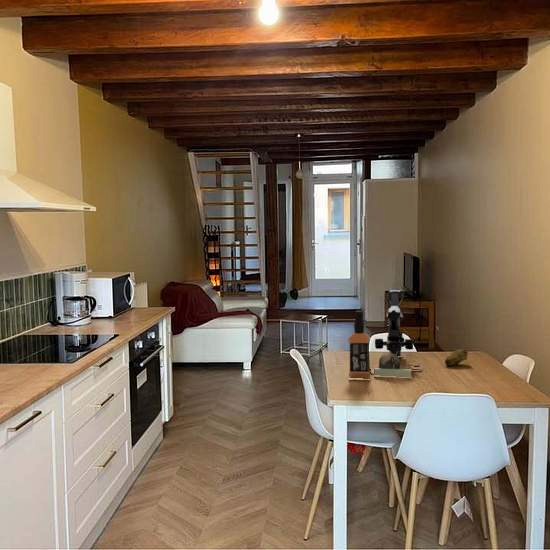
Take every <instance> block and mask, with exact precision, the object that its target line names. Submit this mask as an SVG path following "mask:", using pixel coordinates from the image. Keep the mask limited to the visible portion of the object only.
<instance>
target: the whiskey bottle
mask: <svg viewBox="0 0 550 550" xmlns="http://www.w3.org/2000/svg"><path fill="white" fill-rule="evenodd" d="M363 312H364V311H362V310H355V311H354V319H355V320H354V324H353V329H354V332H352V333H351V334H350V335H349V337H348V343H349V371H348V378H349V377H350V378H363V379H370V376H371V377H372V374H371V369H370V368H371V365H370V363H371V362H370V341H371V337H370V335H369V334H368V333H366V332H365V325H364V321H363V319H364V313H363Z"/></svg>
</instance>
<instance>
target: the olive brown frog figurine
mask: <svg viewBox="0 0 550 550" xmlns="http://www.w3.org/2000/svg"><path fill="white" fill-rule="evenodd" d="M467 359H468V351H467V350H466V349H464V348H458V349H456V350H454V351H453V352H452V353H451V354H450V355H449V356H447V357H446V358H445V360H444V363H445V365H446V366H447V367H452V366H456V365H457V366H458V365H459V364H461V362H463V361H466V360H467Z"/></svg>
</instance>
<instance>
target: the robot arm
mask: <svg viewBox="0 0 550 550" xmlns="http://www.w3.org/2000/svg"><path fill="white" fill-rule="evenodd" d="M387 299H388V301H389V304H390V307H389V308H388V309H387V312H386V321H387V324H388V329H387V331H388V334H387V336H386V339H387V340H386V341H384V338H375V339H374V348H375V349H377V350H378V349H379V350H380V349H383V348H384V346H386V351H389V353H393V354H395V355H397V356H402V348H405V349H406V350H413V349H414V340H413V339H412V338H405V337H404V336H403V329H402V328H401V321H402V320H403V319H404V315H403V314H402V312H401V309H400V305H401V304H402V301H403V299H404V291H402V290H401V289H400V290H396V289H395V290H389V291H387Z"/></svg>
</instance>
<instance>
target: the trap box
mask: <svg viewBox="0 0 550 550" xmlns="http://www.w3.org/2000/svg"><path fill="white" fill-rule="evenodd" d="M408 365H409V366H414V367H420V369H412V368H409V369H411V370H421V371H422V372H423V367H422V366H423V365H422V364H421V365H419V364H412V363H409V364H408ZM409 366H408V367H409Z"/></svg>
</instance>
